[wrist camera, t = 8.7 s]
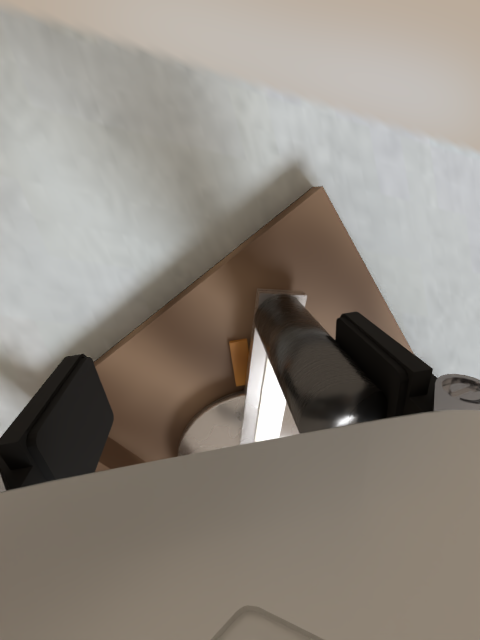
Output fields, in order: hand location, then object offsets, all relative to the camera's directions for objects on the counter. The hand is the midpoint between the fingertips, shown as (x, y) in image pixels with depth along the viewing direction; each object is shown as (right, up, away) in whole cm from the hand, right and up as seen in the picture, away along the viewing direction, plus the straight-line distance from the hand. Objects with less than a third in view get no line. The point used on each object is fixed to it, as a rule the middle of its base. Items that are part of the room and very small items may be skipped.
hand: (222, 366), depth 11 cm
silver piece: (+2, -4, +7) cm, 8 cm away
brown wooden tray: (+2, -4, +9) cm, 10 cm away
